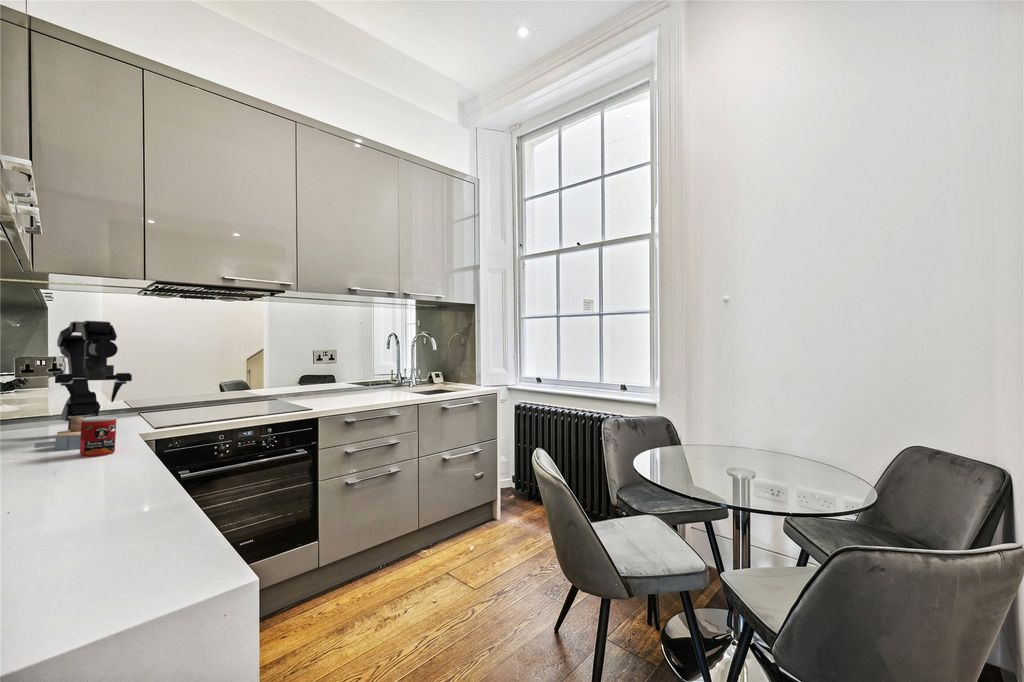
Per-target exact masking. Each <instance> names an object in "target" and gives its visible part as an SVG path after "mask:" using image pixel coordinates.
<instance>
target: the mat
mask: <svg viewBox="0 0 1024 682" xmlns="http://www.w3.org/2000/svg"><path fill="white" fill-rule="evenodd" d="M48 447H49V448H50V447H55V441H54V440H53V441H41V442H36V443H35V445H34V449H39V448H48Z"/></svg>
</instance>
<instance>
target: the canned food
mask: <svg viewBox="0 0 1024 682" xmlns="http://www.w3.org/2000/svg"><path fill="white" fill-rule="evenodd" d="M116 435H117V416H115V415H98V416H95V417H87V418H83V419H82V421H81V439H80V449H79V455H80V457H82V458H96V457H97V458H99V457H103V456H108V455H109V454H110V455H112V454H114V452H115V451H116V439H117V438H116Z"/></svg>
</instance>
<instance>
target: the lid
mask: <svg viewBox="0 0 1024 682" xmlns="http://www.w3.org/2000/svg"><path fill="white" fill-rule="evenodd" d="M83 416H84V415H81V416H70V417H71V426H70V430H68V429H67V430H62V431H58V432H56V435H57V437H76V436H81V421H82V419H83Z"/></svg>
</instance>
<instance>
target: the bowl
mask: <svg viewBox="0 0 1024 682" xmlns="http://www.w3.org/2000/svg"><path fill="white" fill-rule="evenodd" d="M80 439H81V436H76V437H57V434H56V435H55V446H54V450H55V451H73V450H80Z"/></svg>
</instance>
